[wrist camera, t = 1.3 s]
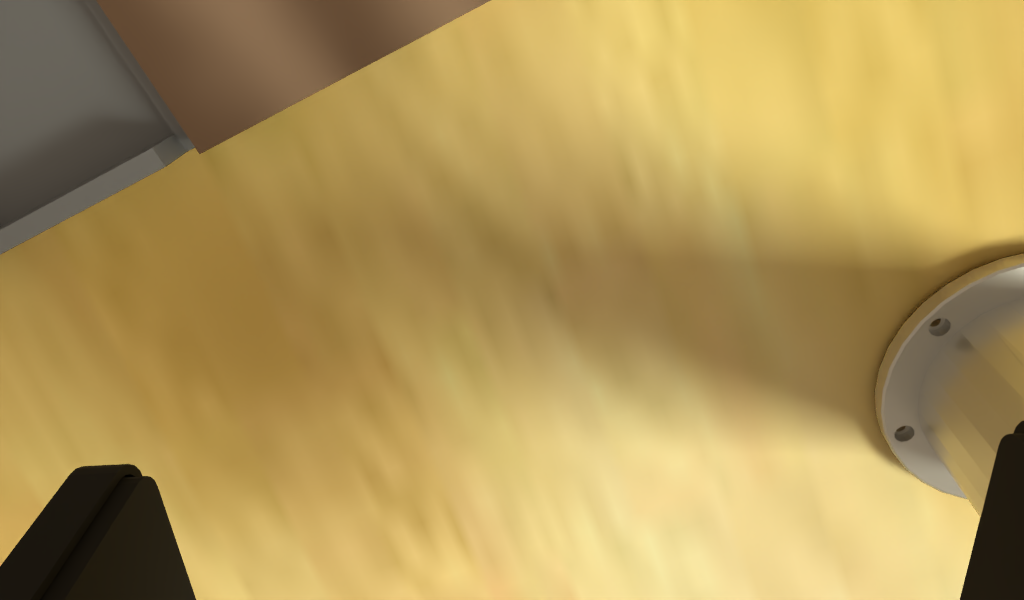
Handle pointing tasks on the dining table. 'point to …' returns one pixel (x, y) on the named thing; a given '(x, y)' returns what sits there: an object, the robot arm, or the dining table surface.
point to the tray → (72, 115)
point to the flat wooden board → (262, 51)
